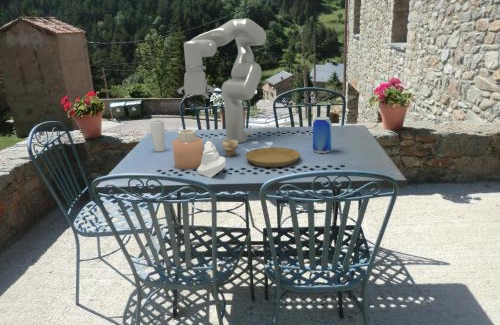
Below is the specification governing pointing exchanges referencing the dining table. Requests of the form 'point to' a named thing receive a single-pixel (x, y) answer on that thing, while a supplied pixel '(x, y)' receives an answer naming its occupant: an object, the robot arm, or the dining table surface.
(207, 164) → the soft serve ice cream
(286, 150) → the plant saucer
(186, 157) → the orange jar
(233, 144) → the stopper
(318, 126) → the beer can
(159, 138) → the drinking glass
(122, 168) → the dining table surface
